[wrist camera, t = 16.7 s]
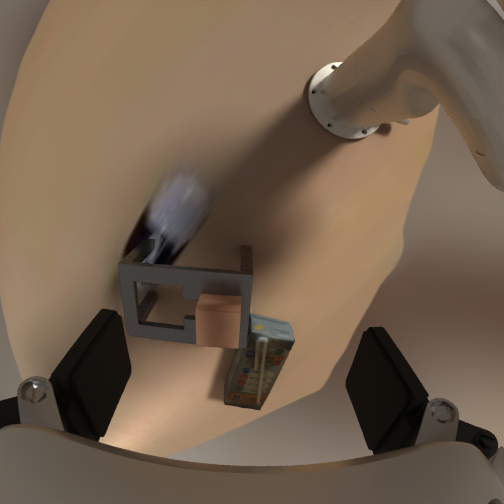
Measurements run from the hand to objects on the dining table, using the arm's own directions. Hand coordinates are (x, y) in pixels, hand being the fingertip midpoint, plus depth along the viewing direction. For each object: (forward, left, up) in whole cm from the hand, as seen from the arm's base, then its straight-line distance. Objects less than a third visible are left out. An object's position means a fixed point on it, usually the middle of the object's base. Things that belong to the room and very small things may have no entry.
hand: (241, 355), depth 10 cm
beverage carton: (-4, +28, -34) cm, 44 cm away
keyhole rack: (+7, +12, -33) cm, 36 cm away
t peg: (+2, +12, -28) cm, 31 cm away
